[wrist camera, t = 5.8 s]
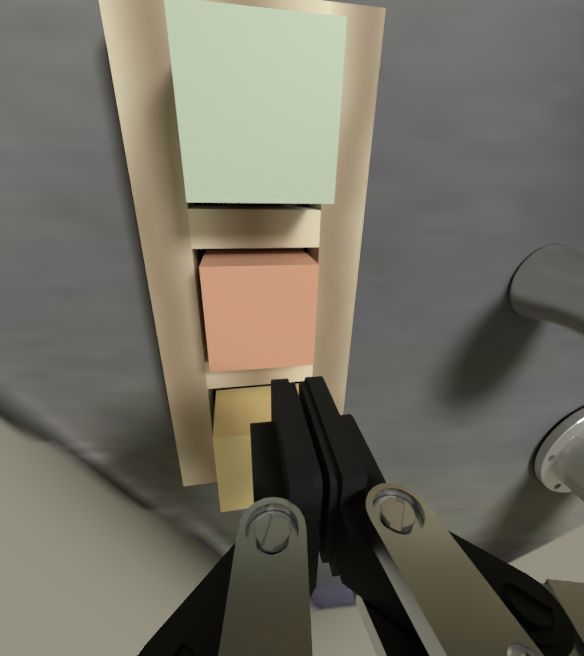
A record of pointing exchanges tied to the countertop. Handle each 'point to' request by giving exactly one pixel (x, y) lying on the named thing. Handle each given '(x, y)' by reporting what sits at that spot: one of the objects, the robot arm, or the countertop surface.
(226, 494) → the ochre button
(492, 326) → the countertop surface
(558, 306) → the beer glass
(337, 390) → the button board
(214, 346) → the terracotta button
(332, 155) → the sage button
